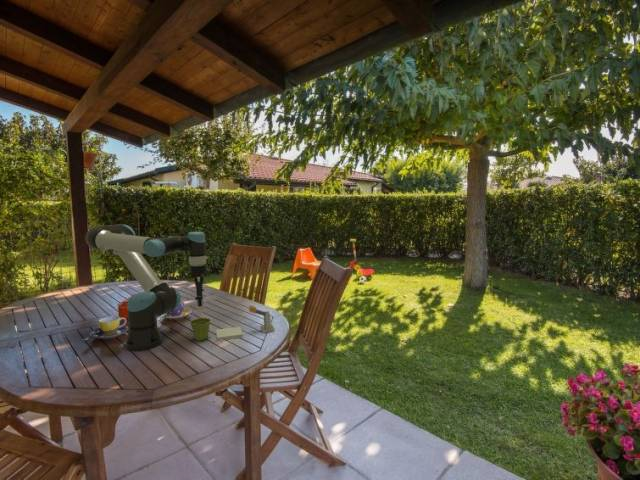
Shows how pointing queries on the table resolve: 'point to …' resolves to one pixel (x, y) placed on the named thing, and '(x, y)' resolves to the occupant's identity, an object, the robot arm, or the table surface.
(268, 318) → the lever stand
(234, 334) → the plate
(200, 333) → the plant pot
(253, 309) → the press lever
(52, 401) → the table surface
